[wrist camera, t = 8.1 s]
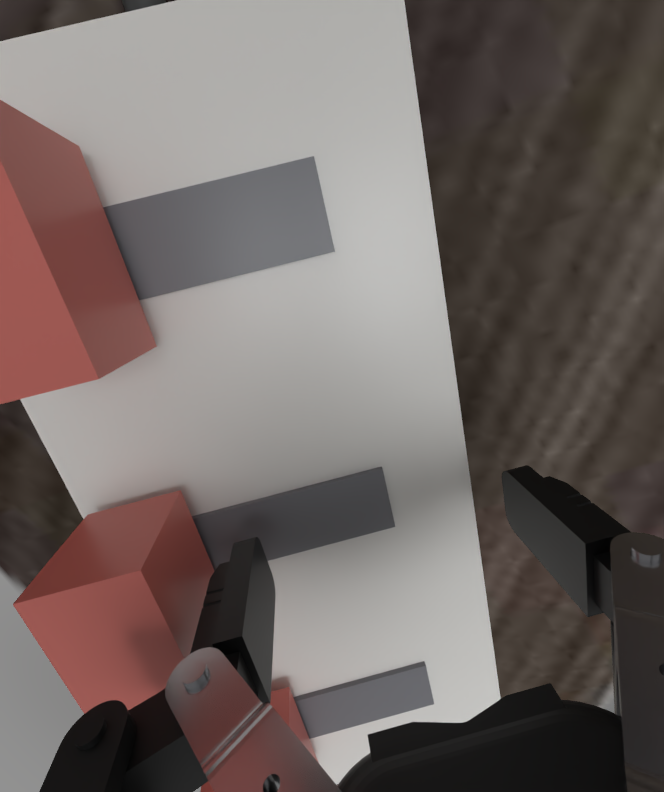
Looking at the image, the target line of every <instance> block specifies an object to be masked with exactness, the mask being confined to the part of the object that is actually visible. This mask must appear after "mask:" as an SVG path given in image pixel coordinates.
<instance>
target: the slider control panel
mask: <svg viewBox="0 0 664 792" xmlns="http://www.w3.org/2000/svg"><path fill="white" fill-rule="evenodd" d="M122 2H123V5H124V9H125V13H120V14H116V15H112V16H107V17H103V18H99V19H94V20H90V21H86V22H82V23H77V24H73V25H69V26H64V27H60V28H56V29H51V30H47V31H43V32H39V33H34V34H30V35H26V36H21V37H17V38H13V39H8V40H4V41H0V100H2V101H3V102H5V103H7V104H9V105H10V106H12V107H14V108H15V109H17V110H19V111H20V112H22V113H24V114H25V115H27V116H29V117H31V118H32V119H34V120H36V121H37V122H39V123H41V124H42V125H44V126H46V127H47V128H49V129H51V130H53V131H54V132H56V133H58V134H59V135H61V136H63V137H64V138H66V139H68V140H70V141H71V142H73V143H75V144H76V145H78V146H79V147H80V150H81V152H82V155H83V157H84V160H85V163H86V165H87V168H88V170H89V173H90V175H91V178H92V181H93V183H94V186H95V188H96V191H97V193H98V196H99V199H100V201H101V204H102V206H103V209H104V211H105V214H106V217H107V219H108V222H109V224H110V227H111V229H112V232H113V235H114V237H115V240H116V242H117V245H118V247H119V250H120V253H121V255H122V258H123V260H124V263H125V265H126V268H127V271H128V273H129V276H130V278H131V281H132V283H133V286H134V289H135V291H136V294H137V296H138V299H139V302H140V304H141V307H142V309H143V312H144V314H145V317H146V320H147V322H148V325H149V327H150V330H151V332H152V335H153V338H154V340H155V343H156V345H157V347H155V348H153V349H151V350H150V351H148V352H146V353H144V354H143V355H141V356H139V357H137V358H135V359H134V360H132V361H130V362H128V363H127V364H125V365H123V366H121V367H119V368H118V369H116V370H114V371H112V372H111V373H109V374H107V375H105V376H104V377H102V378H100V379H97V380H93V381H89V382H86V383H82V384H78V385H74V386H70V387H66V388H62V389H58V390H54V391H50V392H46V393H42V394H38V395H34V396H30V397H26V398H22V399H20V400H21V402H22V404H23V406H24V408H25V409H26V411H27V413H28V415H29V417H30V419H31V421H32V423H33V425H34V426H35V428H36V430H37V432H38V434H39V436H40V438H41V440H42V442H43V444H44V445H45V447H46V449H47V451H48V453H49V455H50V457H51V459H52V461H53V462H54V464H55V466H56V468H57V470H58V472H59V474H60V476H61V478H62V479H63V481H64V483H65V485H66V487H67V489H68V491H69V493H70V495H71V497H72V498H73V500H74V502H75V504H76V506H77V508H78V510H79V512H80V514H81V515H82V517H83V519H84V518H85V517H86V516H87V515H88V514H91V513H95V512H99V511H103V510H107V509H111V508H114V507H118V506H122V505H126V504H130V503H134V502H137V501H141V500H145V499H149V498H153V497H156V496H160V495H164V494H168V493H172V492H176V491H179V490H181V492H182V494H183V497H184V499H185V502H186V504H187V506H188V509H189V511H190V514H191V516H192V518H193V521H194V523H195V525H196V528H197V530H198V533H199V535H200V537H201V540H202V542H203V544H204V547H205V549H206V552H207V554H208V556H209V559H210V561H211V564H212V566H213V568H214V571H215V570H216V569H217V567H218V566H219V564H221V563H225V562H229V561H230V556H231V551H232V547H233V544H234V543H235V542H239V541H243V540H246V539H250V538H254V537H258V538H259V540H260V542H261V544H262V547H263V550H264V553H265V555H266V558H267V561H268V564H269V567H270V569H271V572H272V575H273V579H274V584H275V594H276V595H275V618H274V639H273V660H272V681H271V692H272V691H276V690H280V689H283V688H287V687H289V688H290V690H291V693H292V695H293V698H294V701H295V703H296V706H297V708H298V711H299V713H300V716H301V719H302V721H303V724H304V726H305V729H306V731H307V734H308V737H309V739H310V742H311V744H312V747H313V749H314V752H315V755H316V757H317V760H318V762H319V764H320V765H321V767H322V768H323V769H324V770H325V772H326V773H327V774H328V775H329V777H330V778H331V779H332V780H333V781H334V783H335V784H338V783H340V781H341V780H342V779H343V777H344V776H345V775H346V774H347V773H348V771H349V770H350V769H351V768H352V767H353V766H354V765H355V764H356V763H357V762H359V761H360V760H361V759H362V758H363V757H365V756H366V755H368V754H369V753H370V747H369V741H368V734H371V733H375V732H378V731H382V730H386V729H389V728H393V727H396V726H400V725H403V724H407V723H411V722H443V723H463V722H467V721H469V720H470V719H472V718H473V717H475V716H476V715H478V714H479V713H481V712H482V711H484V710H485V709H487V708H488V707H490V706H491V705H493V704H494V703H496V702H497V701H499V700H500V692H499V684H498V677H497V670H496V663H495V655H494V648H493V641H492V634H491V626H490V619H489V612H488V605H487V597H486V590H485V583H484V576H483V568H482V561H481V554H480V547H479V539H478V532H477V525H476V518H475V510H474V503H473V496H472V489H471V481H470V474H469V467H468V460H467V452H466V445H465V438H464V431H463V423H462V416H461V409H460V402H459V394H458V387H457V380H456V373H455V365H454V358H453V351H452V344H451V336H450V329H449V322H448V315H447V307H446V300H445V293H444V286H443V278H442V271H441V264H440V257H439V249H438V242H437V235H436V228H435V220H434V213H433V206H432V199H431V191H430V184H429V177H428V170H427V162H426V155H425V148H424V141H423V133H422V126H421V119H420V112H419V104H418V97H417V90H416V83H415V75H414V68H413V61H412V54H411V46H410V39H409V32H408V25H407V17H406V10H405V3H404V0H176V1H172V2H168V3H166V0H122Z"/></svg>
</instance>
